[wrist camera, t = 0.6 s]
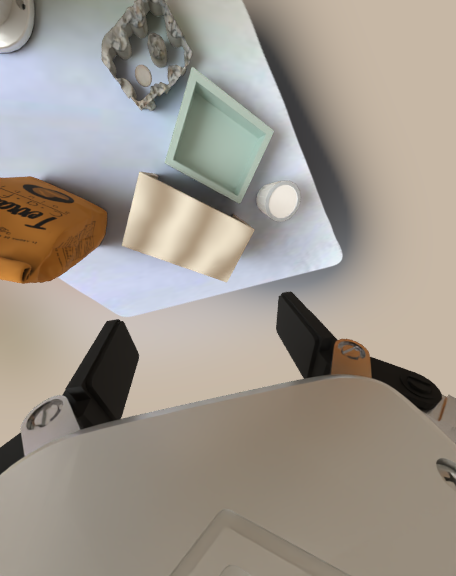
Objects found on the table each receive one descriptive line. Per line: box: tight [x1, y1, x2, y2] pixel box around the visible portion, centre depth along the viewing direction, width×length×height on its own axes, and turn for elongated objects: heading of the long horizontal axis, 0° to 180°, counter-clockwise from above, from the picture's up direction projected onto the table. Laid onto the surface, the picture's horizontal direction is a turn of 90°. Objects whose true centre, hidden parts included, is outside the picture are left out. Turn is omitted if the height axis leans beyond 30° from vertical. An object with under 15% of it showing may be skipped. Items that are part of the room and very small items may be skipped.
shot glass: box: [256, 181, 301, 222], centre depth 36 cm, size 7×7×7 cm
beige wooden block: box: [122, 172, 255, 282], centre depth 33 cm, size 17×10×13 cm, turn 64°
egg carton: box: [102, 0, 193, 111], centre depth 25 cm, size 11×8×4 cm
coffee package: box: [0, 176, 107, 284], centre depth 25 cm, size 10×12×22 cm
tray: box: [165, 67, 274, 204], centre depth 31 cm, size 14×12×4 cm
